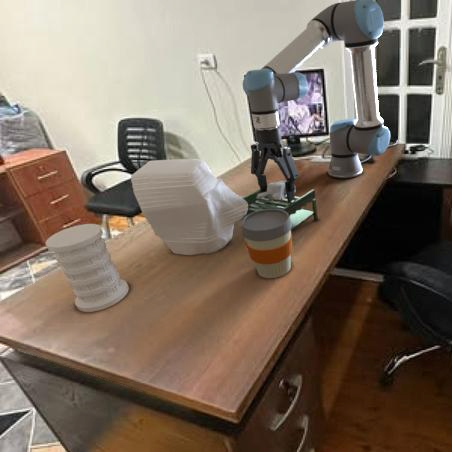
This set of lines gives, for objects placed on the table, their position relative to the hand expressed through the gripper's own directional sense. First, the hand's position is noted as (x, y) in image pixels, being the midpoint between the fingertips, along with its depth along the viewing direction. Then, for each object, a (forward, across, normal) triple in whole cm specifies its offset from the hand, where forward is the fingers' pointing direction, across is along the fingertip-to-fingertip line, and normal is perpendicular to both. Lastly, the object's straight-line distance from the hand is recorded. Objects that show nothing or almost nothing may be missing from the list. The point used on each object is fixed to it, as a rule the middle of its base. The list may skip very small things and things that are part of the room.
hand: (277, 197), depth 112 cm
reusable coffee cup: (+10, +14, -21) cm, 27 cm away
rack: (+10, 0, 0) cm, 10 cm away
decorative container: (+10, -18, -50) cm, 54 cm away
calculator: (+10, -18, +3) cm, 21 cm away
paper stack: (+10, -14, -22) cm, 28 cm away
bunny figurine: (0, 0, 0) cm, 1 cm away
